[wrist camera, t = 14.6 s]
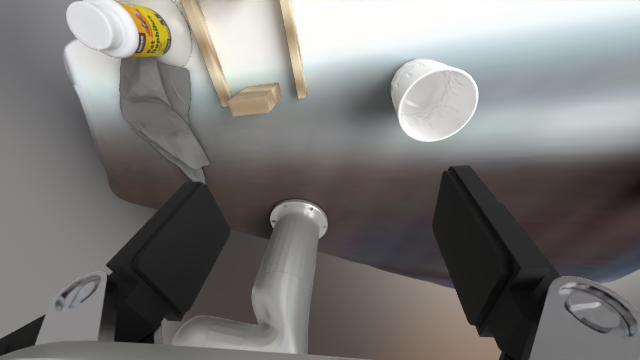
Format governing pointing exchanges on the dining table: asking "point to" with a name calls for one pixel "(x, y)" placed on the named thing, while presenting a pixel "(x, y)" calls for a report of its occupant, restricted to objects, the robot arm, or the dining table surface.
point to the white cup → (432, 99)
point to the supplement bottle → (119, 28)
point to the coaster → (179, 29)
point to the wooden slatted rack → (255, 96)
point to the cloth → (161, 111)
